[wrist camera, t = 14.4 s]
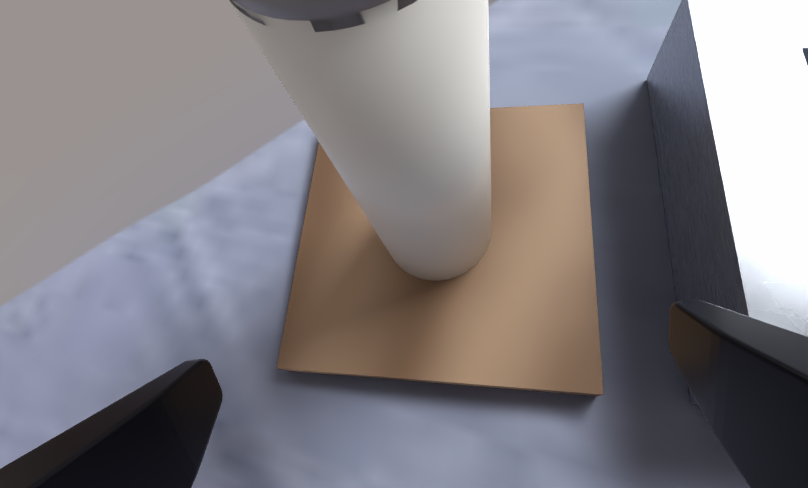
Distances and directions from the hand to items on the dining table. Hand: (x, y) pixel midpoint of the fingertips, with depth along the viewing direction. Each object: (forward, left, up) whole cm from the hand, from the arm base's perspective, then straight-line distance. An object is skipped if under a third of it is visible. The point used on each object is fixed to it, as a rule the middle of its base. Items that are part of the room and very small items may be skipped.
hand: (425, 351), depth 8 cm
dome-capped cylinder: (-1, +6, -8) cm, 10 cm away
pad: (-1, +6, -9) cm, 11 cm away
